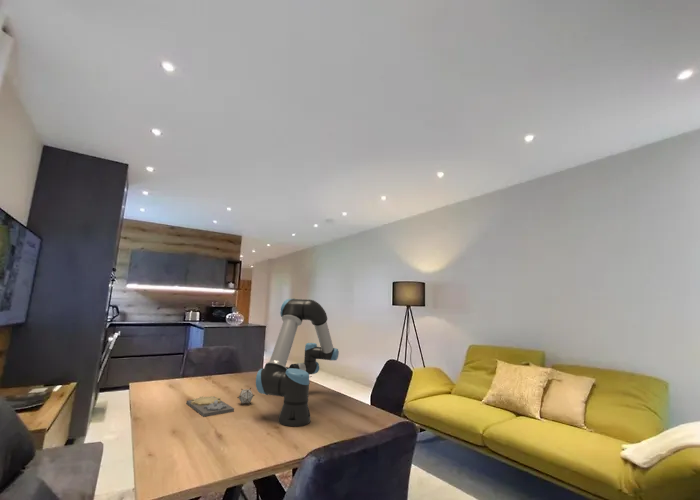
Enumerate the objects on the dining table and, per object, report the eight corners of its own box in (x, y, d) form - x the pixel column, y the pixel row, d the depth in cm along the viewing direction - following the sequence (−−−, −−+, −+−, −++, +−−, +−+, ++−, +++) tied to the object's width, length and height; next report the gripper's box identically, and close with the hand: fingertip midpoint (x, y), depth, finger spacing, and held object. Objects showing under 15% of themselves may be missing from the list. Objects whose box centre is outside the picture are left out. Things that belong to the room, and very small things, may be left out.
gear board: (233, 411, 168) (234, 401, 169) (203, 416, 158) (204, 405, 159) (214, 399, 187) (215, 390, 188) (186, 403, 177) (187, 393, 178)
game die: (246, 412, 180) (250, 399, 176) (232, 405, 181) (236, 392, 177) (254, 399, 188) (258, 387, 184) (241, 393, 189) (245, 381, 185)
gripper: (308, 380, 197) (276, 384, 183) (285, 372, 215) (255, 376, 201) (309, 367, 198) (277, 370, 184) (286, 360, 216) (256, 363, 202)
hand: (266, 373), depth 192 cm, fingers open, 13 cm apart
